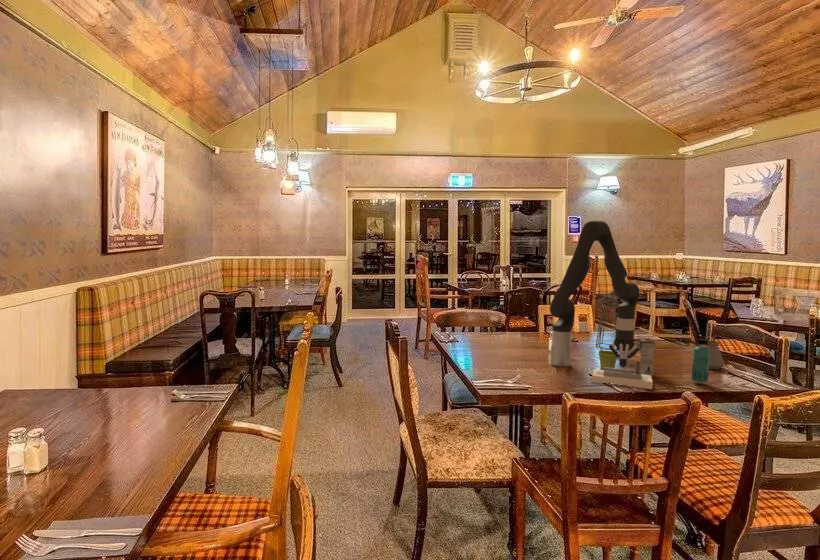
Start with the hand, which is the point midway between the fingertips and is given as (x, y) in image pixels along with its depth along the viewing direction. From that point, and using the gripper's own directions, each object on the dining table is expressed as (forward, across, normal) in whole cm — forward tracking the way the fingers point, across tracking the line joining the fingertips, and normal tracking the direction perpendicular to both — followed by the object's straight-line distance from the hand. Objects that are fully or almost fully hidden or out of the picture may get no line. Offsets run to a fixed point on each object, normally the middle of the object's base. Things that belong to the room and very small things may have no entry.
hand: (622, 366), depth 224 cm
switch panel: (+7, 0, 0) cm, 7 cm away
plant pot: (+7, -6, +19) cm, 21 cm away
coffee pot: (+7, +37, +46) cm, 59 cm away
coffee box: (+7, +10, +21) cm, 24 cm away
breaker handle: (+4, +6, 0) cm, 7 cm away
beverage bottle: (+7, +32, +12) cm, 35 cm away
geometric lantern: (+7, -5, +55) cm, 55 cm away
